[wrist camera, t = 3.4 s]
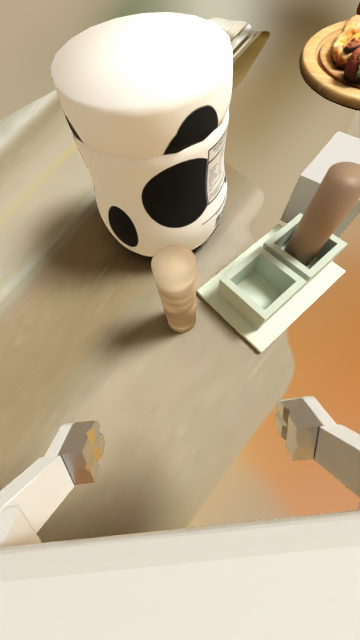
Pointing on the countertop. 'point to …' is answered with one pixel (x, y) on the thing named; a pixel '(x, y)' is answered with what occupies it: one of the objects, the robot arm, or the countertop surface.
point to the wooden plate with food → (335, 62)
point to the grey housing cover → (311, 178)
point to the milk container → (151, 124)
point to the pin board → (286, 264)
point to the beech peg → (176, 285)
